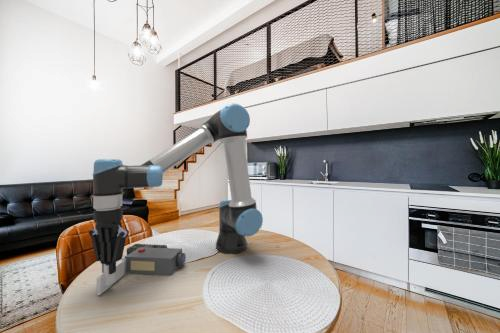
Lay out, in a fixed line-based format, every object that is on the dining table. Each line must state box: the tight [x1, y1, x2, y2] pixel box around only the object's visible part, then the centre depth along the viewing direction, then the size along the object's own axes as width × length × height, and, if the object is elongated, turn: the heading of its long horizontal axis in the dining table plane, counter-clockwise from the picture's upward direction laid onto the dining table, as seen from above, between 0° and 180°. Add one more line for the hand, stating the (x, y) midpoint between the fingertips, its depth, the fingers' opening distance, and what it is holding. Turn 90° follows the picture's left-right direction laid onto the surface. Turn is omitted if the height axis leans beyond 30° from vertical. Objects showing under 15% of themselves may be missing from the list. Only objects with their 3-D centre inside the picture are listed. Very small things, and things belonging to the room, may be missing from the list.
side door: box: [96, 257, 127, 296], centre depth 68 cm, size 13×2×5 cm, turn 0°
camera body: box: [124, 247, 187, 276], centre depth 78 cm, size 20×9×7 cm, turn 85°
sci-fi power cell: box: [126, 243, 168, 256], centre depth 89 cm, size 4×19×10 cm
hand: (109, 283), depth 64 cm, fingers closed
